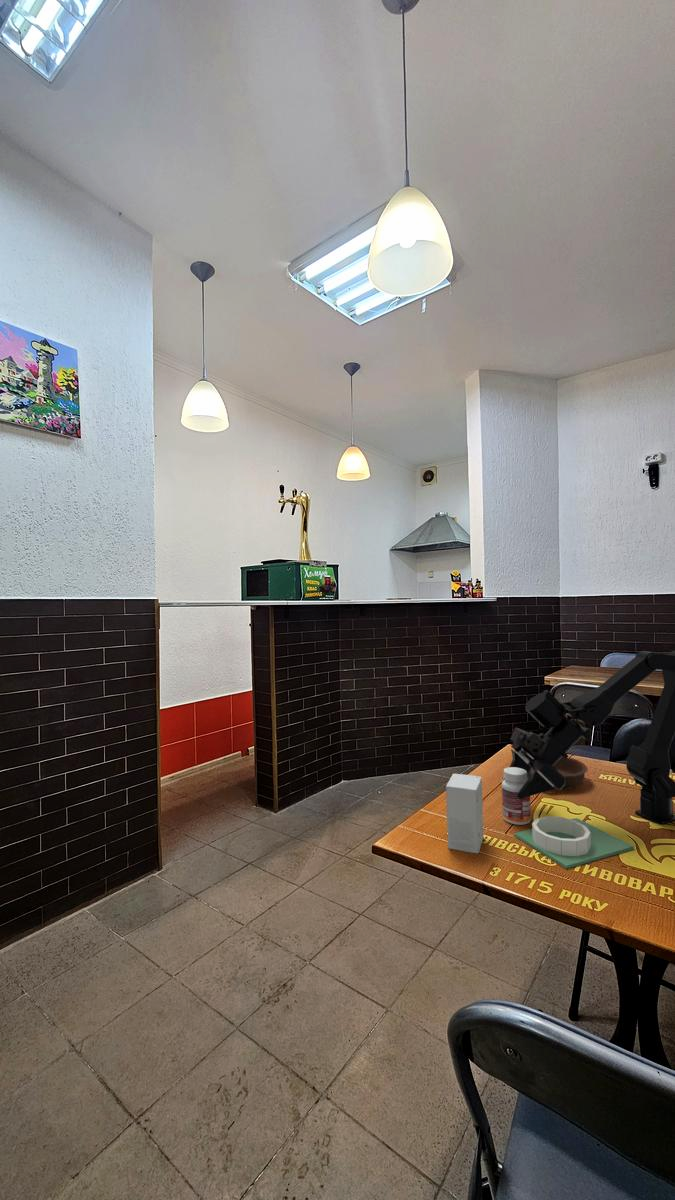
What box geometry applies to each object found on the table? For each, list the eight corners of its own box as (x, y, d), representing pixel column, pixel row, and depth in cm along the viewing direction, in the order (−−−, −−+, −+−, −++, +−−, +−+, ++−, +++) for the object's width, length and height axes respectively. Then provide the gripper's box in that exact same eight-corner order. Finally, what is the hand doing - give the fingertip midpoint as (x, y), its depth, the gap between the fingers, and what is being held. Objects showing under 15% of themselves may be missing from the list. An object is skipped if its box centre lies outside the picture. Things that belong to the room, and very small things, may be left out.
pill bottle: (528, 828, 108) (527, 777, 108) (500, 822, 111) (498, 773, 111) (532, 816, 113) (531, 768, 113) (505, 811, 116) (504, 764, 116)
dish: (511, 788, 131) (510, 770, 131) (528, 764, 149) (528, 748, 149) (582, 801, 121) (582, 781, 121) (592, 774, 140) (591, 757, 140)
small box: (454, 831, 107) (452, 772, 107) (484, 836, 104) (482, 776, 104) (446, 848, 100) (445, 785, 100) (478, 854, 97) (476, 789, 97)
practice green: (577, 820, 111) (576, 804, 111) (633, 849, 98) (633, 831, 98) (514, 836, 104) (513, 819, 104) (566, 868, 91) (565, 849, 91)
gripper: (518, 707, 121) (475, 752, 121) (549, 727, 103) (498, 780, 103) (550, 738, 121) (507, 783, 121) (587, 763, 102) (536, 816, 103)
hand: (511, 789), depth 112 cm, fingers open, 9 cm apart
